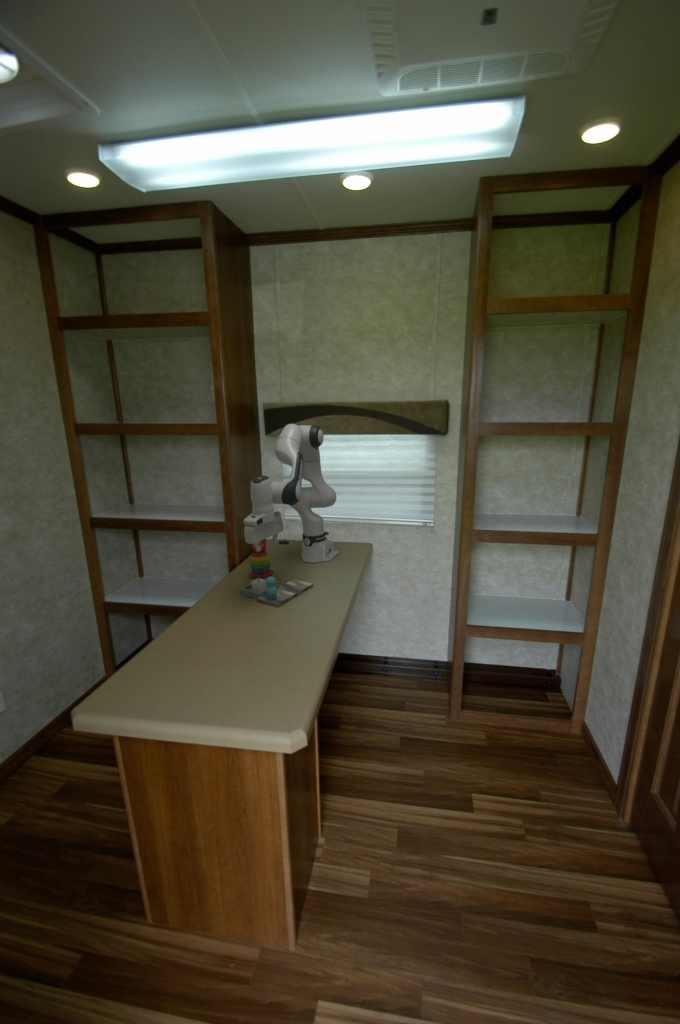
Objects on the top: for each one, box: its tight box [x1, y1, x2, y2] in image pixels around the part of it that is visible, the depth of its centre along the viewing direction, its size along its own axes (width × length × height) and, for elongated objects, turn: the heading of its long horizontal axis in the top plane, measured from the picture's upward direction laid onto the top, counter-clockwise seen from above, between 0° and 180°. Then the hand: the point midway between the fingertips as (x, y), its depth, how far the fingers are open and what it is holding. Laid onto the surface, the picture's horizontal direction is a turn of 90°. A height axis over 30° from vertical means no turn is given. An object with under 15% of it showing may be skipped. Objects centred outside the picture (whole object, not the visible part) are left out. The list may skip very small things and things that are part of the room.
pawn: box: [265, 576, 277, 600], centre depth 178 cm, size 4×4×10 cm
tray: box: [238, 583, 279, 600], centre depth 189 cm, size 12×12×2 cm
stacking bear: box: [249, 540, 275, 580], centre depth 207 cm, size 11×10×18 cm
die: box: [250, 578, 266, 593], centre depth 189 cm, size 4×4×5 cm
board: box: [255, 578, 314, 608], centre depth 186 cm, size 24×12×1 cm, turn 147°
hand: (266, 547), depth 179 cm, fingers open, 8 cm apart
